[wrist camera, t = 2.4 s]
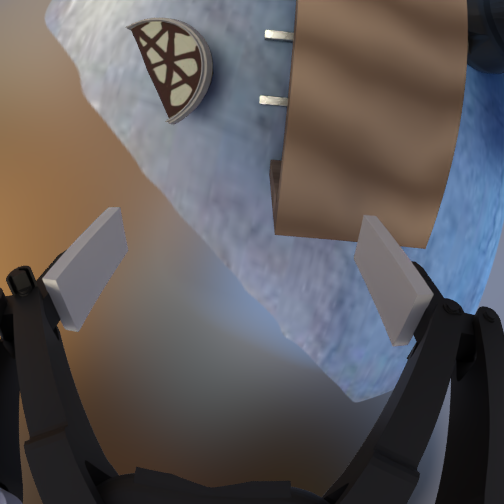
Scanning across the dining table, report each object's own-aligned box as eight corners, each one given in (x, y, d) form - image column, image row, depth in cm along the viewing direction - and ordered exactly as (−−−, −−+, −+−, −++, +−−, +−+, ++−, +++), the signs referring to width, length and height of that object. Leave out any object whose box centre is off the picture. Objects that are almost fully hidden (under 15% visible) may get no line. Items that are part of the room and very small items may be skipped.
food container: (237, 98, 32) (229, 101, 23) (191, 116, 33) (168, 127, 24) (202, 16, 26) (182, -7, 17) (157, 36, 27) (124, 23, 18)
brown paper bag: (286, -26, 22) (303, -91, 8) (392, -1, 22) (462, -34, 8) (269, 174, 37) (274, 234, 23) (369, 186, 37) (425, 248, 23)
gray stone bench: (265, 32, 27) (265, 27, 24) (319, 39, 27) (324, 35, 24) (259, 103, 32) (259, 104, 29) (312, 108, 32) (316, 110, 29)
